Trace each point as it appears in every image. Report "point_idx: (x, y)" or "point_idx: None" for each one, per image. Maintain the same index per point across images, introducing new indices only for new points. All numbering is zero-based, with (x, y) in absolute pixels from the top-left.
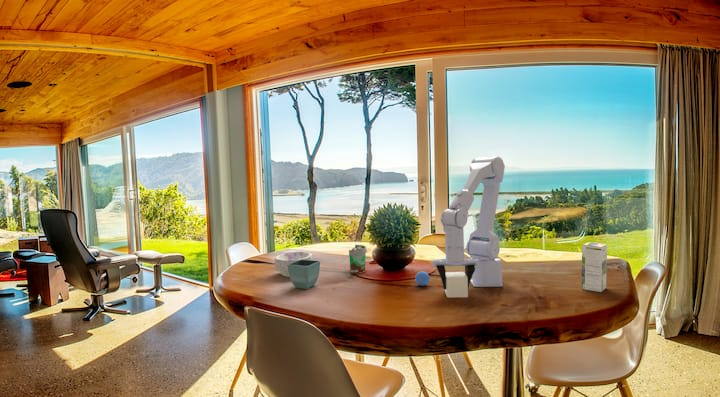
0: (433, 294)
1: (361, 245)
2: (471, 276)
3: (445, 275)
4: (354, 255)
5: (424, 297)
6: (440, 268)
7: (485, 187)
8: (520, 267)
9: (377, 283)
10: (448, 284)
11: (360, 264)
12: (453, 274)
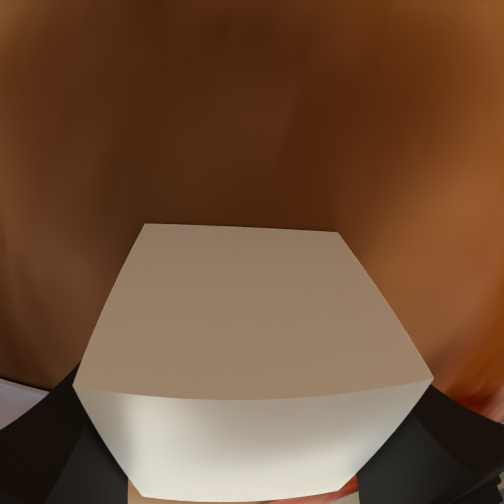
0: (401, 304)
1: None
2: (37, 405)
3: (379, 442)
4: (502, 477)
5: (471, 249)
6: (479, 486)
7: None
8: None
9: (494, 399)
10: (372, 308)
11: None
12: (277, 470)
